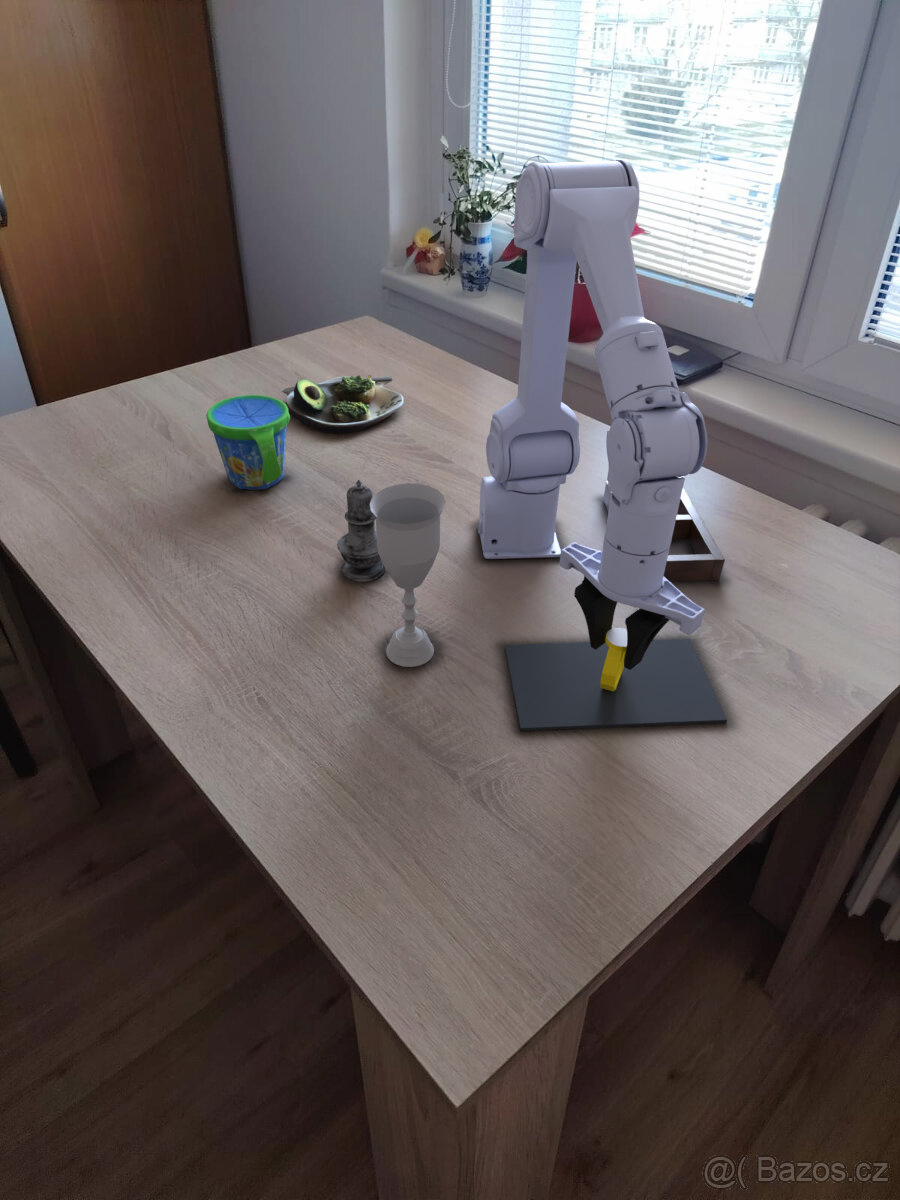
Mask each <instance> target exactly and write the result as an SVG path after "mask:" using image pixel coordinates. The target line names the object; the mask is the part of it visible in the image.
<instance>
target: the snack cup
mask: <svg viewBox="0 0 900 1200" xmlns="http://www.w3.org/2000/svg"><path fill="white" fill-rule="evenodd" d="M289 412H290V411H289V408H288V407H287V405H286V402H284V401H282V400H281V399H278V398H277V397H276V398H275V397H272V396H268V395H263V394H262V395H261V394H244V395H236V396H232V397H228V398H225V399H222V400H220V401H218V402H216V403H214V404H213V405H212V406H211V407H210V408H209V409H208V411H207V412H206V414H205V417H206V421H207V425H208V426H207V427H208V428H209V430H210V431H211V432H212V433H213V436H214V440H215V443H216V446H217V449H218V452H219V455H220V458H221V461H222V463H223V467H224V471H225V473H226V475H227V478H228V480H229V482H230V483H231V484H232V485H234V486H236V488H238V489H239V490H243V489H244V490H250V491H256V490H257V491H259V490H267V489H269V488H270V487H273V486H275V485H276V484H278V483H279V482H281V480H282V479H284V476H285V465H286V448H287V426H288V425H289V422H290V420H291V415H290V413H289Z"/></svg>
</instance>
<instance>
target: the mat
mask: <svg viewBox="0 0 900 1200" xmlns="http://www.w3.org/2000/svg"><path fill="white" fill-rule="evenodd" d="M608 650H609V647H608V645H607V644H606V643H604V644H603V645H602V646H600V647H599V648H598V649H596V650H595V649H593V648H592V647H591V645H590V641H581V642H580V641H579V642H578V641H577V642H576V641H575V642H553V643H552V642H547V643H521V644H519V643H518V644H517V643H516V644H515V643H514V644H504V651H505V657H506V662H507V663H506V664H507V668H508V673H509V679H510V683H511V689H512V693H513V700H514V705H515V710H516V715H517V721H518V727H519V731H520V732H529V731H531V732H532V731H551V730H552V731H553V730H554V731H555V730H577V729H578V730H581V729H599V728H601V729H604V728H606V729H607V728H626V727H627V728H629V727H630V728H631V727H651V726H652V727H653V726H676V725H702V724H704V725H705V724H723V723H725V724H726V723H727V722H728V718H727V716H726V713H725V712H724V710H723V707H722V705H721V703H720V701H719V698H718V696H717V694H716V691H715V690H714V688H713V686H712V683H711V682H710V679H709V677H708V675H707V672H706V671H705V669H704V667H703V664H702V662H701V660H700V657H699V655H698V653H697V650H696V649H695V647H694V644H693V642H692V640H691V638H672V639H671V638H670V639H669V638H667V639H653V640H652V642H651V643H650V645H649V647H648V648H647V650H646V652H645V654H644V656H643V658H642V661H641V662H640V663H638V664H637V665H636V666H635V667H634V668H632V669H631V670H629V669H627V668H625V667H624V668H623V672H622V674H621V676H620V679H619V682H618V684H617V687H616V690H615V691H610V690H606V689H603V688H601V687H600V682H601V676H602V672H603V667H604V664H605V660H606V656H607V653H608Z"/></svg>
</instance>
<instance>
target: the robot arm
mask: <svg viewBox="0 0 900 1200" xmlns="http://www.w3.org/2000/svg"><path fill="white" fill-rule="evenodd" d="M639 206H640V182H639V178H638V175H637V172H636V170H635V168H634V166H633V164H632V163H631V162H630V161H629V160H628V159H625V158H621V159H620V158H619V159H616V160H613V161H582V162H580V161H579V162H552V163H551V162H550V163H547V162H546V163H541V162H539V161H533V162H529V163H528V165H527V166H526V167H525V169H524V171H523V172H522V174H521V175H520V177H519V179H518V181H517V183H516V188H515V202H514V214H513V215H514V217H513V245H514V247H515V248H519V249H523V250H525V251H526V273H525V286H524V287H525V288H524V302H523V315H522V327H521V340H520V341H521V342H520V355H519V367H518V368H519V369H518V381H517V382H518V383H517V396H515V397H514V398H513V399H511V400H510V401H508V402H507V403H506V404H505V405H503V406H502V407H500V408H499V409H497V410H496V411H495V412H494V413H493V414H492V418H491V420H490V428H489V431H488V432H489V433H488V435H487V438H486V443H485V455H486V462H487V467H488V471H489V473H490V475H489V476H484V477H481V481H480V492H479V510H478V511H479V512H478V513H479V514H478V515H479V516H478V519H477V532H478V535H479V538H480V542H481V549H482V553H483V558H484V559H487V560H500V559H537V558H540V559H541V558H542V559H543V558H560V559H559V567H561V568H563V569H565V570H567V571H569V570H571V569H573V570H576V571H577V572H580V573H581V574H582V575H583V579H582V581H581V583H580V584H578V585H577V586H576V587H575V589H574V594H573V595H574V598H575V600H576V601H577V602H578V605H579V606H580V608H581V610H582V613H583V616H584V619H585V623H586V626H587V632H588V638H589V642H590V645H591V647H592V648H593V649H595V650H596V649H598V648H599V647H600V646H602V645H603V644H604V643H606V642H605V638H606V633H607V632H608V631H609V630H611V629H613V623H614V619H615V618H614V617H615V611H616V608H617V606H618V603H619V604H623V605H626V606H630V607H633V608H637V610H635V611H634V612H633V613H631V614H630V615H628V616H627V617H626V618H625V621H624V623H625V629H627V648H626V652H625V657H624V667H625V668H627V669H629V670H631V669H632V668H634V667H635V666H636V665H637V664H638V663H640V662H641V661H642V658H643V656H644V654H645V652H646V650H647V648H648V647H649V645H650V643H651V642H652V640H655V638H656V636H657V635H658V633H659V632H660V631H661V630H662V629H663V628H664V627H665V626H666V624H668V622H669V621H671V622H673V623H674V624H677V625H678V626H679V631H680V632H682V633H683V634H685V635H687V636H690V635H692V634H693V633H695V632H696V631H697V630H698V629H699V628H700V627H701V626H702V623H703V619H704V616H705V611H706V608H703V607H702V606H700V605H698V604H697V603H695V602H694V601H692V600H691V599H690V598H689V597H687V596H686V595H685V594H684V593H683V592H682V591H681V590H680V589H679V588H677V586H675V585H674V584H673V583H672V582H669V581H668V580H667V579H666V578H665V577H664V571H665V567H666V562H667V558H668V555H669V553H670V548H671V544H672V541H673V540H672V535H673V531H674V526H675V521H676V517H677V512H678V508H679V503H680V499H681V494H682V489H683V488H684V484H685V480H686V478H685V477H686V476H688V475H694V474H696V473H698V472H699V471H700V470H701V468H702V467H703V465H704V463H705V460H706V457H707V451H708V433H707V427H706V422H705V418H704V415H703V413H702V412H701V410H700V409H699V407H698V406H696V405H695V403H692V401H691V399H690V397H689V394H688V393H687V392H686V391H683V392H682V391H680V389H679V386H678V382H677V378H676V375H675V372H674V368H673V364H672V361H671V357H670V354H669V350H668V347H667V344H666V339H665V336H664V332H663V329H662V328H661V326H660V325H658V324H657V323H655V322H653V321H651V320H649V319H646V318H645V313H644V307H643V302H642V301H643V300H642V297H641V296H642V295H641V291H640V285H639V280H638V273H637V268H636V262H635V257H634V251H633V245H632V239H631V237H632V234H633V232H634V229H635V227H636V223H637V218H638V215H639V209H640V208H639ZM577 264H578V268H579V270H580V273H581V275H582V278H583V281H584V284H585V286H586V287H585V288H586V289H587V292H588V294H589V298H590V300H591V303H592V306H593V309H594V311H595V314H596V317H597V320H598V323H599V325H600V328H601V330H602V335H601V337H600V339H598V341H597V343H596V345H595V348H594V356H595V360H596V363H597V367H598V372H599V377H600V379H601V383H602V388H603V391H604V394H605V399H606V401H607V407H608V409H609V410H608V411H609V413H610V418H611V424H610V427H609V430H607V431H606V440H605V441H606V442H605V443H606V446H605V447H606V456H607V462H608V469H607V478H606V481H608V488H609V490H610V491H611V492H612V493H611V500H610V506H609V512H608V511H607V518H606V519H607V520H606V524H605V532H604V538H603V545H602V550H599V549H595V548H590V547H587V546H584V545H581V544H579V543H577V542H576V541H574V542H571V543H570V544H568V545H567V546H565V547H563V548H562V549H561V546H560V543H559V539H558V537H557V533H556V522H557V513H558V508H559V507H558V506H559V497H560V490H561V489H560V488H561V485H564V484H566V483H567V476H568V475H572V474H573V473H574V472H575V471H576V469H577V467H578V465H579V462H580V457H581V444H580V443H581V442H580V438H579V437H580V436H579V435H580V433H579V432H580V422H579V419H578V417H577V416H576V414H575V412H574V410H572V409H571V408H570V407H569V406H568V405H567V404H566V403H564V402H562V400H563V389H564V382H565V381H564V380H565V374H566V373H565V371H566V362H567V353H568V345H569V335H570V334H569V333H570V325H571V317H572V307H573V299H574V298H573V297H574V290H575V281H576V271H577Z"/></svg>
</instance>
